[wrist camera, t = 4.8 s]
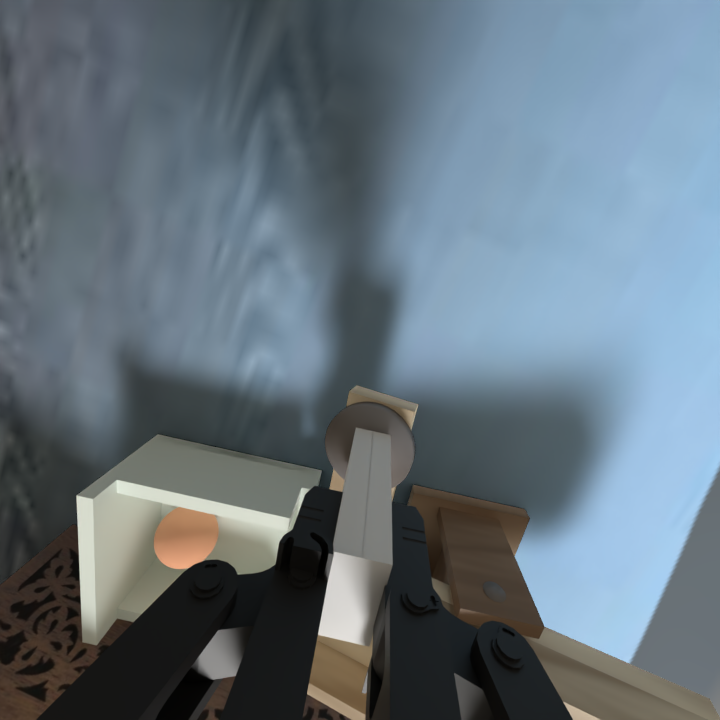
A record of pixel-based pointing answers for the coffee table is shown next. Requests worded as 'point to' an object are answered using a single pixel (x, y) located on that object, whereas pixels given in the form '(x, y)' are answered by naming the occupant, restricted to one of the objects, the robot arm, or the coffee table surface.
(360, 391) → the lever
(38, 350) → the coffee table surface
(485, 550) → the fulcrum
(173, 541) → the ball
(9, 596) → the tissue box cover
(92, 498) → the bin
